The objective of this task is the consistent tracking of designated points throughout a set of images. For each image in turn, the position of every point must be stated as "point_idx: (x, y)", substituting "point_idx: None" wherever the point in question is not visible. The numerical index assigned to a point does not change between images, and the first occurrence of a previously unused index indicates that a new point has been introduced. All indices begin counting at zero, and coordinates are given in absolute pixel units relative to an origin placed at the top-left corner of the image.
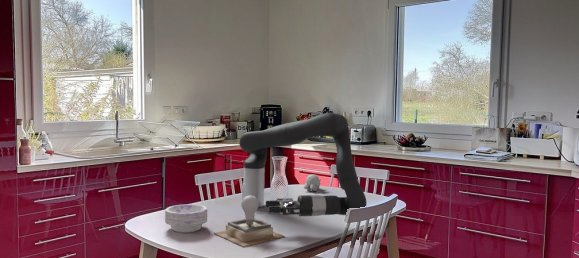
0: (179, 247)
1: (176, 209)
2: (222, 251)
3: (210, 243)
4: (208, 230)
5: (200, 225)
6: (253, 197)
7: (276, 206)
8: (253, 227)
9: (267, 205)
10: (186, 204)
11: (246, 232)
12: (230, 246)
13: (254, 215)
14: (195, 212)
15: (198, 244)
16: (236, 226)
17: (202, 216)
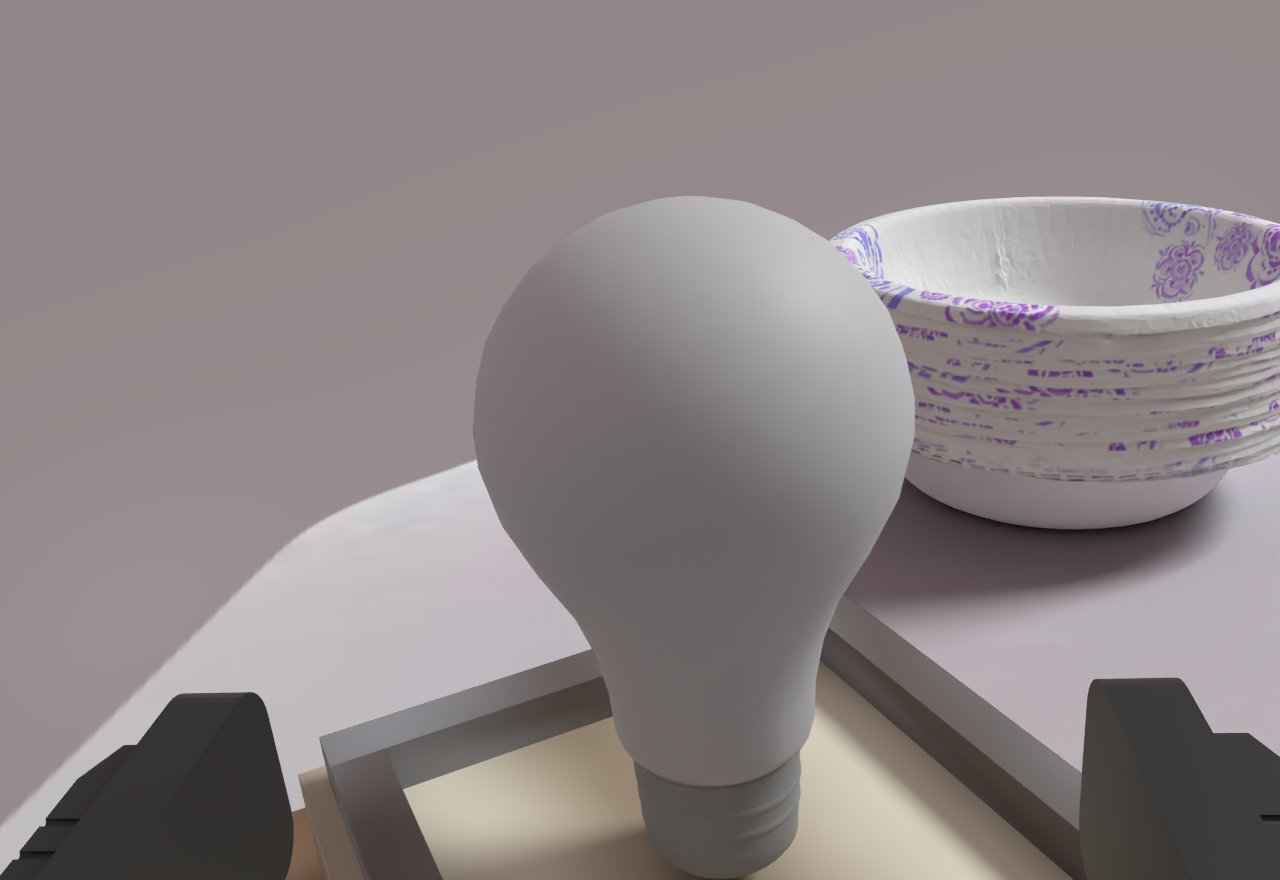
0: (478, 472)
1: (1171, 248)
2: (171, 690)
3: (500, 612)
4: (1022, 590)
5: (983, 478)
6: (582, 258)
7: (87, 865)
8: (400, 845)
9: (1100, 848)
10: None
11: (331, 789)
12: (294, 754)
13: (671, 722)
14: (867, 280)
15: (507, 548)
16: (591, 656)
17: (923, 367)
